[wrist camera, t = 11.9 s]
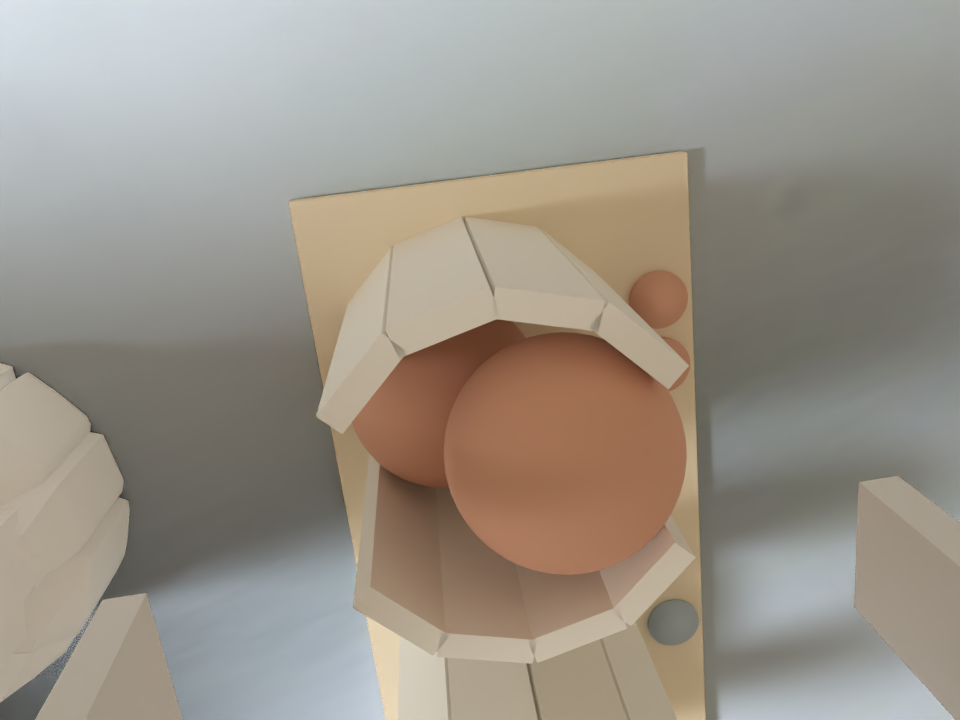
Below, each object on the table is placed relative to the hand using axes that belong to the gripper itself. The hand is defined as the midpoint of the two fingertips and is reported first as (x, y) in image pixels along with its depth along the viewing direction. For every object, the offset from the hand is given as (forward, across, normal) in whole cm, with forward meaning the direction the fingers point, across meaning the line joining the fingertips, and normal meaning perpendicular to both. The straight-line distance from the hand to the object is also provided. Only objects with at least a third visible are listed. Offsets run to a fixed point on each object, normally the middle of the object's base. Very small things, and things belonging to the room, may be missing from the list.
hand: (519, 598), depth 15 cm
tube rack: (+15, +2, -6) cm, 16 cm away
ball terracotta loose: (+6, -1, 0) cm, 6 cm away
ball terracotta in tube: (+14, +1, 0) cm, 14 cm away
